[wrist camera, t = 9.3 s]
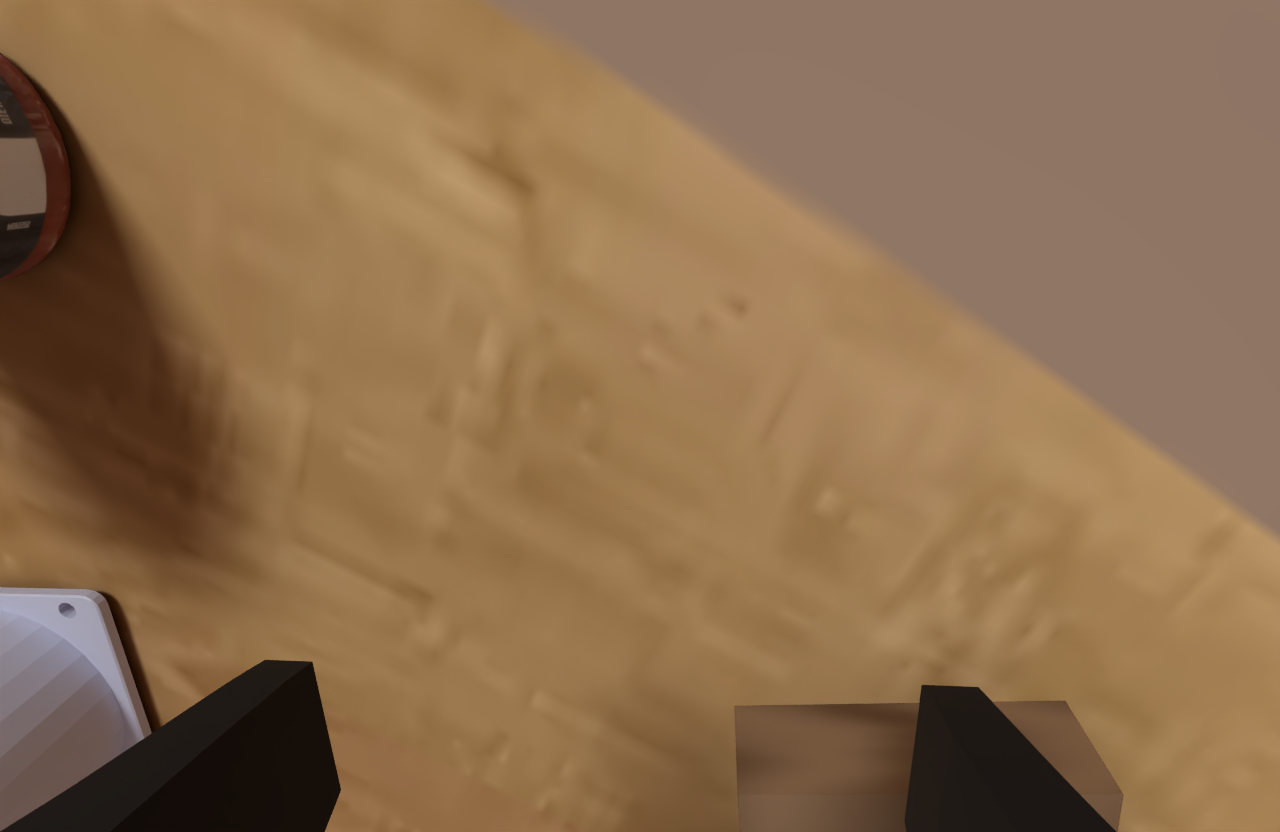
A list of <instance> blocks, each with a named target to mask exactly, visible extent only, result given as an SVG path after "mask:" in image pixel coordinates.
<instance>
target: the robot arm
mask: <svg viewBox="0 0 1280 832" xmlns="http://www.w3.org/2000/svg"><path fill="white" fill-rule="evenodd" d="M340 791H341V788H340V784H339V779H338V775H337V770H336V766H335V761H334V757H333V752H332V748H331V743H330V739H329V734H328V730H327V725H326V721H325V716H324V712H323V708H322V703H321V699H320V694H319V690H318V685H317V681H316V676H315V672H314V667H313V663H312V662H306V661H279V660H264V661H263V662H261V663H259V664H258V665H256V666H254V667H252V668H251V669H249V670H247V671H246V672H244V673H242V674H241V675H239V676H238V677H236V678H234V679H233V680H231V681H230V682H228V683H227V684H225V685H224V686H222V687H221V688H219V689H217V690H216V691H214V692H213V693H211V694H210V695H208V696H207V697H205V698H204V699H202V700H201V701H199V702H198V703H196V704H195V705H193V706H192V707H190V708H189V709H187V710H186V711H184V712H183V713H181V714H180V715H178V716H177V717H175V718H174V719H172V720H171V721H169V722H168V723H166V724H165V725H163V726H162V727H160V728H159V729H157V730H156V731H154V732H153V733H152V732H151V729H150V726H149V723H148V720H147V717H146V715H145V712H144V709H143V706H142V703H141V700H140V697H139V694H138V691H137V688H136V685H135V682H134V679H133V676H132V673H131V670H130V667H129V664H128V661H127V658H126V655H125V652H124V649H123V646H122V644H121V641H120V638H119V635H118V632H117V629H116V626H115V623H114V620H113V617H112V614H111V611H110V608H109V605H108V603H107V601H106V599H105V598H104V597H103V596H102V595H101V594H100V593H98V592H96V591H93V590H88V589H49V588H5V587H0V832H325V829H326V827H327V824H328V822H329V819H330V817H331V814H332V812H333V809H334V806H335V804H336V801H337V799H338V796H339V794H340ZM904 822H905V827H906V832H1117V831H1116V830H1115V829H1114V828H1113V827H1112V826H1111V825H1110V824H1109V823H1108V822H1107V821H1106V820H1105V819H1104V818H1102V817H1101V815H1100V814H1099V813H1098V812H1097V811H1096V810H1095V809H1094V808H1093V807H1092V806H1091V805H1090V804H1089V803H1088V802H1087V801H1086V800H1085V799H1084V798H1083V797H1082V796H1081V795H1080V794H1079V793H1078V792H1077V791H1076V790H1075V789H1074V788H1073V787H1072V786H1071V785H1070V783H1069V782H1068V781H1067V780H1066V779H1065V778H1064V777H1063V776H1062V775H1061V774H1060V773H1059V772H1058V771H1057V770H1056V769H1055V768H1054V767H1053V766H1052V765H1051V764H1050V762H1049V761H1048V760H1047V759H1046V758H1045V757H1044V756H1043V755H1042V754H1041V753H1040V752H1039V751H1038V750H1037V749H1036V748H1035V747H1034V746H1033V744H1032V743H1031V742H1030V741H1029V740H1028V739H1027V738H1026V737H1025V736H1024V735H1023V734H1022V733H1021V732H1020V731H1019V730H1018V729H1017V727H1016V726H1015V725H1014V724H1013V723H1012V722H1011V721H1010V720H1009V719H1008V718H1007V717H1006V716H1005V715H1004V714H1003V713H1002V712H1001V710H1000V709H999V708H998V707H997V706H996V705H995V704H994V703H993V702H992V701H991V700H990V699H989V698H988V697H987V696H986V695H985V694H984V693H983V692H982V691H981V690H980V689H979V687H961V686H935V685H922V688H921V695H920V703H919V711H918V719H917V727H916V734H915V742H914V750H913V758H912V765H911V773H910V781H909V789H908V797H907V804H906V812H905V820H904Z"/></svg>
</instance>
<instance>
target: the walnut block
mask: <svg viewBox="0 0 1280 832" xmlns="http://www.w3.org/2000/svg"><path fill="white" fill-rule="evenodd" d="M993 703H994V704H995V705H996V706H997V707H998V708H999V709H1000V710H1001V712H1002V713H1003V714H1004V715H1005V716H1006V717H1007V718H1008V719H1009V720H1010V721H1011V722H1012V723H1013V724H1014V725H1015V726H1016V727H1017V729H1018V730H1019V731H1020V732H1021V733H1022V734H1023V735H1024V736H1025V737H1026V738H1027V739H1028V740H1029V741H1030V742H1031V743H1032V744H1033V746H1034V747H1035V748H1036V749H1037V750H1038V751H1039V752H1040V753H1041V754H1042V755H1043V756H1044V757H1045V758H1046V759H1047V760H1048V761H1049V762H1050V764H1051V765H1052V766H1053V767H1054V768H1055V769H1056V770H1057V771H1058V772H1059V773H1060V774H1061V775H1062V776H1063V777H1064V778H1065V779H1066V780H1067V781H1068V782H1069V783H1070V785H1071V786H1072V787H1073V788H1074V789H1075V790H1076V791H1077V792H1078V793H1079V794H1080V795H1081V796H1082V797H1083V798H1084V799H1085V800H1086V801H1087V802H1088V803H1089V804H1090V805H1091V806H1092V807H1093V808H1094V809H1095V810H1096V811H1097V812H1098V813H1099V814H1100V815H1101V817H1102V818H1104V819H1105V820H1106V821H1107V822H1108V823H1109V824H1110V825H1111V826H1112V827H1113V828H1114V829H1115V830H1116V831H1118V825H1119V819H1120V813H1121V807H1122V800H1123V793H1122V791H1121V790H1120V788H1119V786H1118V785H1117V783H1116V782H1115V780H1114V778H1113V777H1112V775H1111V774H1110V772H1109V770H1108V769H1107V767H1106V766H1105V764H1104V762H1103V761H1102V759H1101V757H1100V756H1099V754H1098V753H1097V751H1096V749H1095V748H1094V746H1093V745H1092V743H1091V741H1090V740H1089V738H1088V737H1087V735H1086V733H1085V732H1084V730H1083V728H1082V727H1081V725H1080V724H1079V722H1078V720H1077V719H1076V717H1075V716H1074V714H1073V712H1072V711H1071V709H1070V708H1069V706H1068V704H1067V703H1066V701H1018V702H993ZM918 711H919V703H889V704H824V705H760V706H735V733H736V760H737V788H738V805H739V818H740V832H906V827H905V822H904V820H905V812H906V804H907V797H908V789H909V781H910V773H911V765H912V758H913V750H914V742H915V734H916V727H917V719H918Z"/></svg>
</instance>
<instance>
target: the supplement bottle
mask: <svg viewBox="0 0 1280 832" xmlns="http://www.w3.org/2000/svg"><path fill="white" fill-rule="evenodd" d="M70 198H71V180H70V168H69V163H68V158H67V154H66V150H65V147H64V144H63V141H62V136H61V133H60V132H59V130H58V128H57V126H56V125H55V123H54V120H53V117H52V116H51V114H50V112H49V110H48V108H47V106H46V105H45V104H44V102H43V101H42V99H41V98H40V96H39V94H38V93H37V92H36V90H35V89H34V87H33V86H32V84H31V83H30V82H29V81H28V79H27V78H26V77H25V76H24V75H23V73H22V72H21V71H20V70H19V69H18V68H17V67H16V66H15V65H14V64H12V63H11V62H10V61H9V60H8V59H7V58H6V57H5V56H3V55H2V54H1V53H0V280H3V279H7V278H11V277H14V276H17V275H19V274H21V273H23V272H26V271H27V270H29V269H31V268H33V267H34V266H35V265H37V264H38V263H39V262H41V261H42V260H43V259H44V258H45V257H46V256H47V255H48V254H49V253H50V252H51V251H52V250H53V249H54V247H55V246H56V244H57V242H58V240H59V239H60V237H61V235H62V233H63V231H64V228H65V224H66V221H67V218H68V215H69V210H70Z"/></svg>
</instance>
